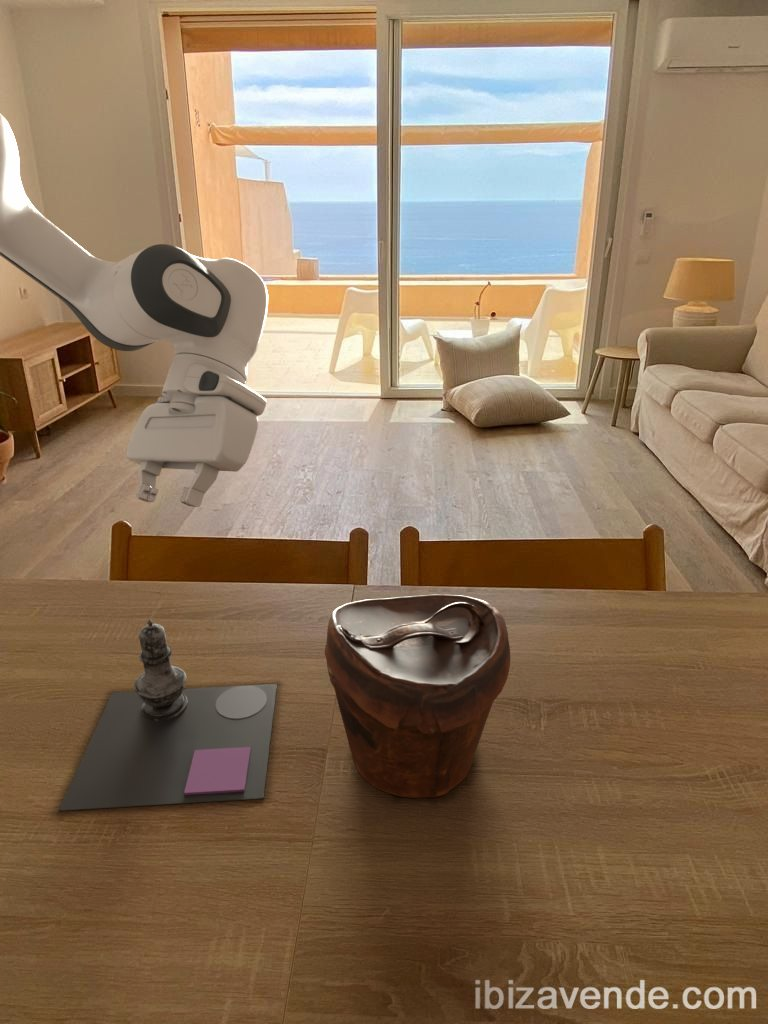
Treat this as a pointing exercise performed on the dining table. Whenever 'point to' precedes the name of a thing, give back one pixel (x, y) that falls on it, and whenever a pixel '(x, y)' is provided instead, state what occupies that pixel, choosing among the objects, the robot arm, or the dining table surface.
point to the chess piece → (159, 677)
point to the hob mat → (171, 748)
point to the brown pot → (416, 686)
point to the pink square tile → (218, 771)
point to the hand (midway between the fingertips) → (166, 502)
